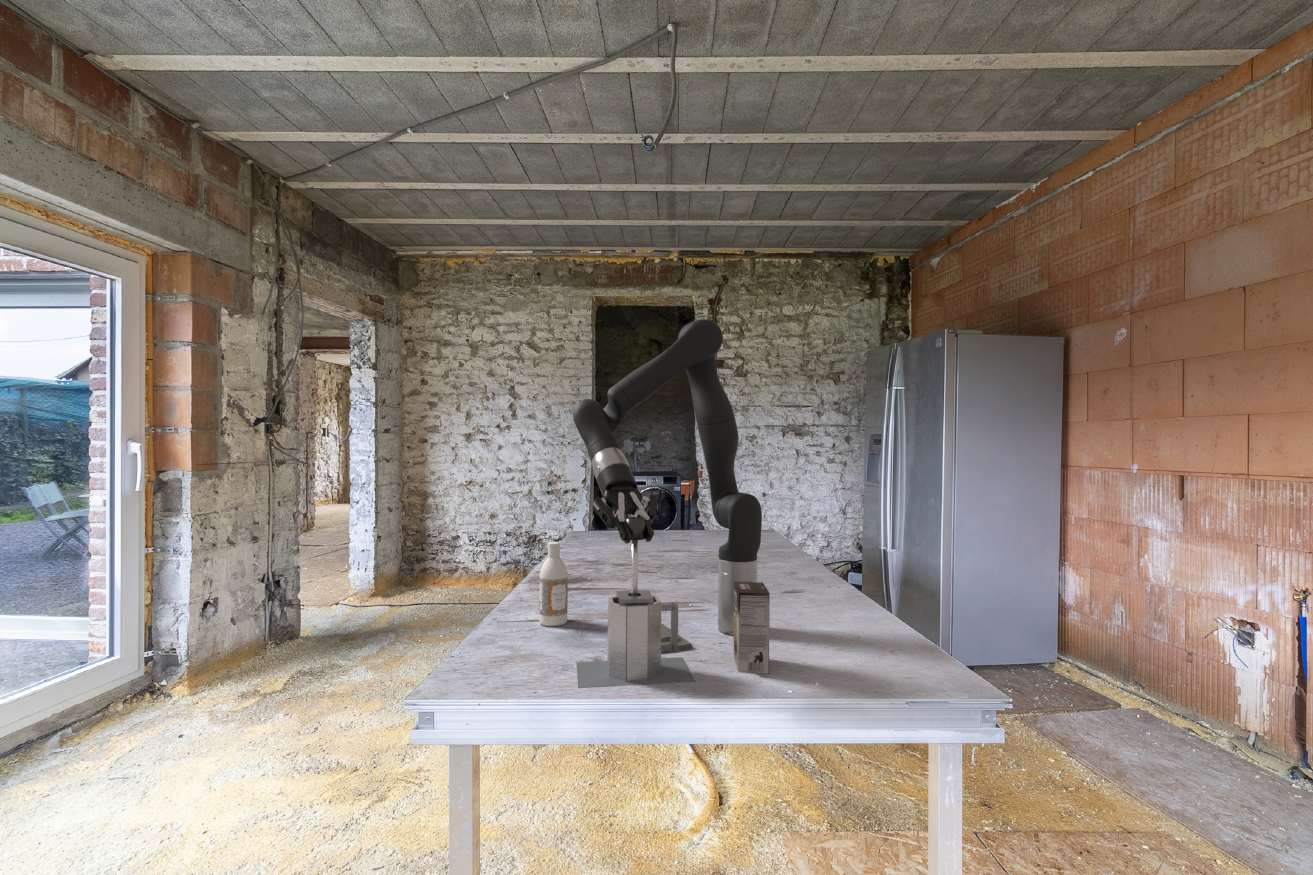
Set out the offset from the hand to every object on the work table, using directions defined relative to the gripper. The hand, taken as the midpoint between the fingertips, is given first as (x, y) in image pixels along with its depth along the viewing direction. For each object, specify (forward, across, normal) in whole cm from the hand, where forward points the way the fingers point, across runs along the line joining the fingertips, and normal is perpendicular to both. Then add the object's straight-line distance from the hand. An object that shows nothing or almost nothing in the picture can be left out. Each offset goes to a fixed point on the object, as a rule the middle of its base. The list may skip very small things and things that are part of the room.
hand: (639, 539), depth 118 cm
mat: (+17, 0, -20) cm, 27 cm away
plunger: (+11, 0, -14) cm, 18 cm away
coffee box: (+23, -23, -15) cm, 36 cm away
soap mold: (+6, -14, -32) cm, 36 cm away
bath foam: (-10, +3, -48) cm, 49 cm away
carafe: (+17, -2, -19) cm, 26 cm away
